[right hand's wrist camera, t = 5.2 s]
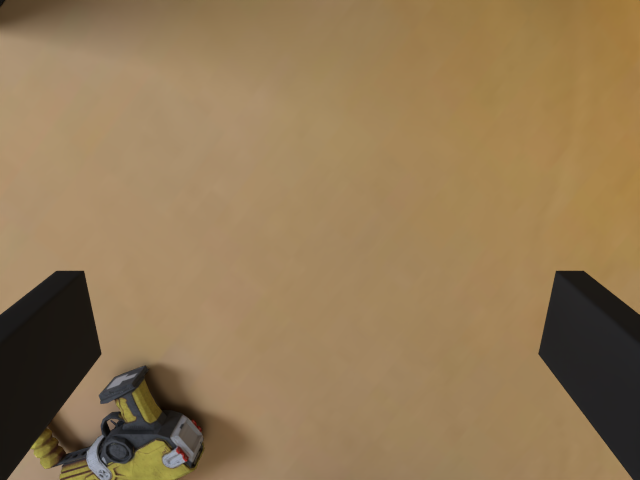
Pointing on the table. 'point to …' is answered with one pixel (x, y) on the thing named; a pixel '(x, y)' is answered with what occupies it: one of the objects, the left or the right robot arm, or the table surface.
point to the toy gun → (130, 439)
